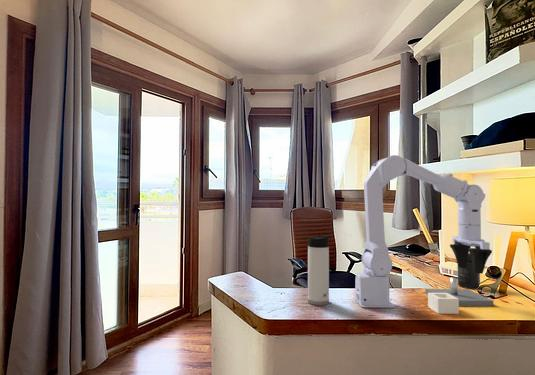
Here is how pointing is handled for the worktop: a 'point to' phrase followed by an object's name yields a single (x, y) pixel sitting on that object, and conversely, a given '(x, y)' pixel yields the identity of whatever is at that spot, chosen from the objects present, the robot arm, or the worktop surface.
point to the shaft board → (463, 295)
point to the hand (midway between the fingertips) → (470, 270)
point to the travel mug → (318, 270)
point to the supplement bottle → (468, 276)
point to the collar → (443, 303)
